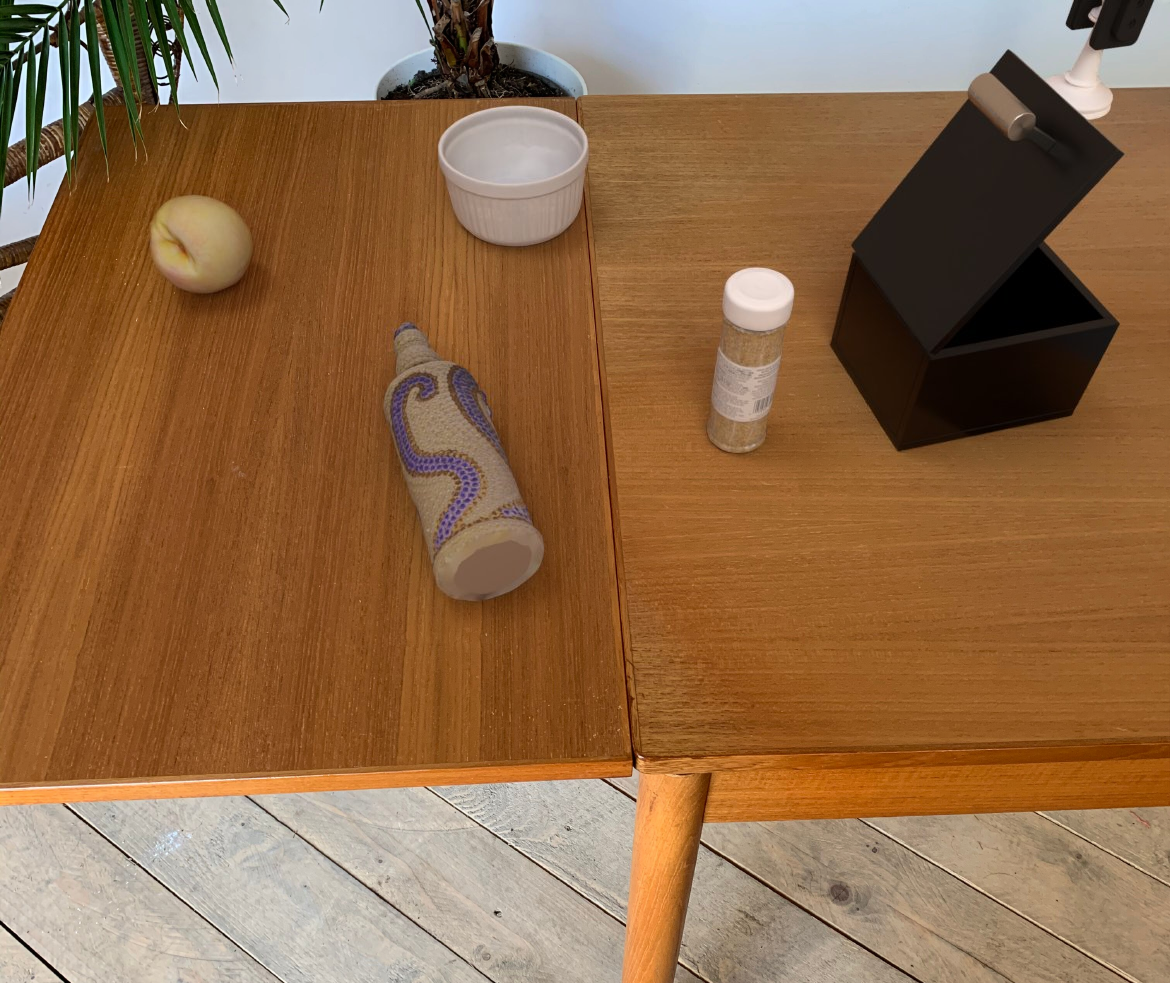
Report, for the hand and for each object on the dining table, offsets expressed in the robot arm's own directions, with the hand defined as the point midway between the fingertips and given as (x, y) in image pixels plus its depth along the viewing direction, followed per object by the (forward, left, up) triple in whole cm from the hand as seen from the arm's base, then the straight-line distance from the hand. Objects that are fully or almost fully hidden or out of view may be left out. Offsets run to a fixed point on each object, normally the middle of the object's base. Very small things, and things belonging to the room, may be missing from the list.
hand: (1100, 33), depth 66 cm
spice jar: (+22, +15, -23) cm, 35 cm away
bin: (+5, +8, -23) cm, 25 cm away
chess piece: (0, 0, -5) cm, 5 cm away
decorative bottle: (+42, +20, -23) cm, 52 cm away
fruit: (+66, -1, -23) cm, 70 cm away
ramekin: (+41, -13, -23) cm, 49 cm away
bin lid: (+7, +8, -7) cm, 13 cm away
